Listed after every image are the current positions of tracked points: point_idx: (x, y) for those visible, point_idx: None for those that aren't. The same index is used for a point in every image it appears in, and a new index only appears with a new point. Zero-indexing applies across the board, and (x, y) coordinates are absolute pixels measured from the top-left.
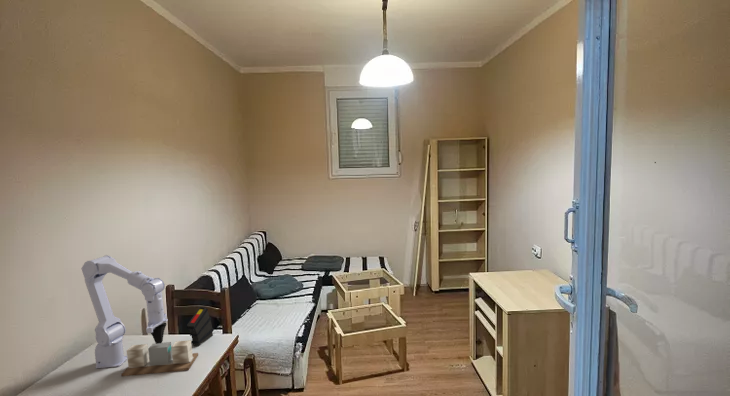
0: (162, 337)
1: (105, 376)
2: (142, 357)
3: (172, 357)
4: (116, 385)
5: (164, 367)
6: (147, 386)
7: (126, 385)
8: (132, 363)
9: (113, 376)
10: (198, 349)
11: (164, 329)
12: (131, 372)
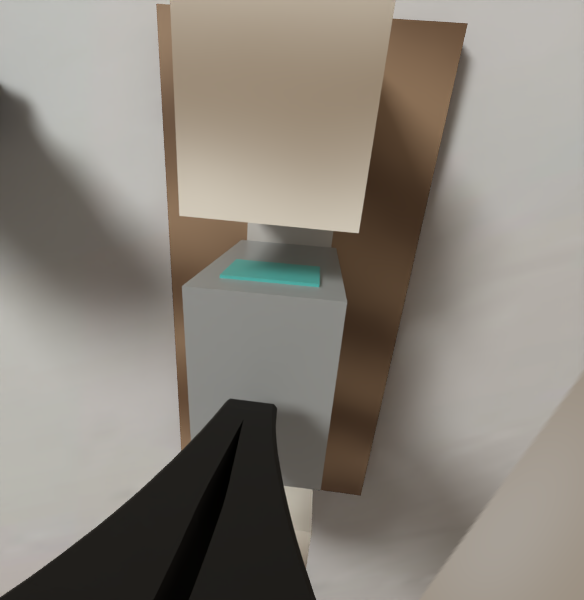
0: (224, 444)
1: (331, 540)
2: None
3: (241, 241)
4: (460, 480)
5: (371, 268)
6: (579, 318)
7: (488, 436)
8: None
9: (344, 512)
10: (51, 52)
11: (56, 566)
12: (364, 453)
